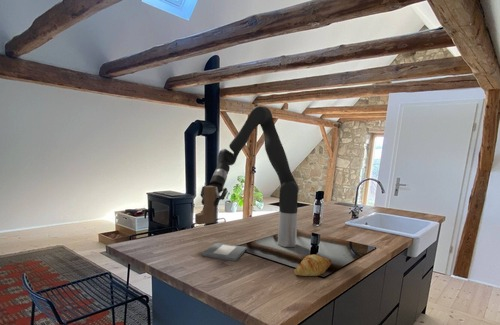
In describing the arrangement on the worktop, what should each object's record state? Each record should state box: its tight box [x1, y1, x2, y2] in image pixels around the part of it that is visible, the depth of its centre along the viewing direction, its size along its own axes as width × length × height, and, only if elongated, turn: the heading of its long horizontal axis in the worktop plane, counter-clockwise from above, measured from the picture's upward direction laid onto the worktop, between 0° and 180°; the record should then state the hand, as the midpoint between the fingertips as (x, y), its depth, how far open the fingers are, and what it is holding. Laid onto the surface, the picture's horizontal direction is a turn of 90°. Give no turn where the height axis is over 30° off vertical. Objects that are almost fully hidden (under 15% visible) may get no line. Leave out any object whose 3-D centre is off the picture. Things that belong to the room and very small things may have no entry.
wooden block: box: [194, 185, 217, 226], centre depth 141 cm, size 9×4×18 cm, turn 127°
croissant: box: [293, 254, 332, 277], centre depth 117 cm, size 21×10×8 cm, turn 127°
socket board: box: [201, 242, 247, 262], centre depth 133 cm, size 16×16×1 cm
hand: (209, 204), depth 142 cm, fingers closed on wooden block, 6 cm apart
